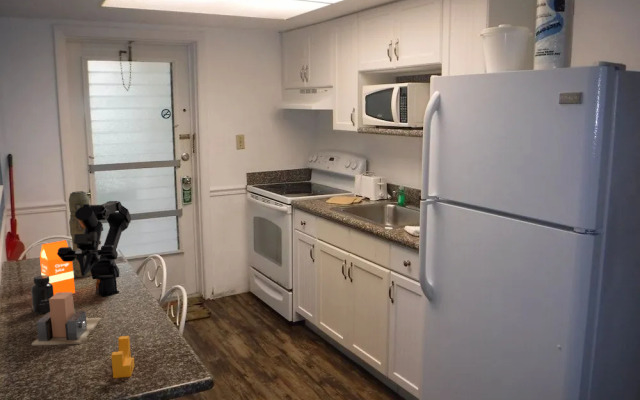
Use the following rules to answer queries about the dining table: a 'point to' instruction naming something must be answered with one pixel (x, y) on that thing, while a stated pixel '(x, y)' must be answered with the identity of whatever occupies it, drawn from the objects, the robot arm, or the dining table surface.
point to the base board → (62, 340)
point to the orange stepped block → (122, 359)
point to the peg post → (61, 312)
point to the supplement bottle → (41, 294)
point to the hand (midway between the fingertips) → (83, 275)
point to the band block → (73, 326)
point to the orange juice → (57, 267)
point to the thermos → (77, 225)
